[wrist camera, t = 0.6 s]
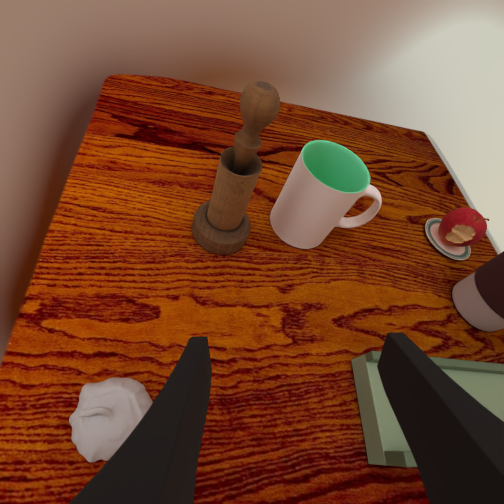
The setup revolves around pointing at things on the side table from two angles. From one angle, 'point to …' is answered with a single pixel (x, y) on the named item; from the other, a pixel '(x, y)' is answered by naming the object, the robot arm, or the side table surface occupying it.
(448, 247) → the apple
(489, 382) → the tray
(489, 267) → the coffee cup
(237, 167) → the mortar and pestle
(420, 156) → the side table surface
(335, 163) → the mug
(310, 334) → the side table surface
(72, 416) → the garlic
